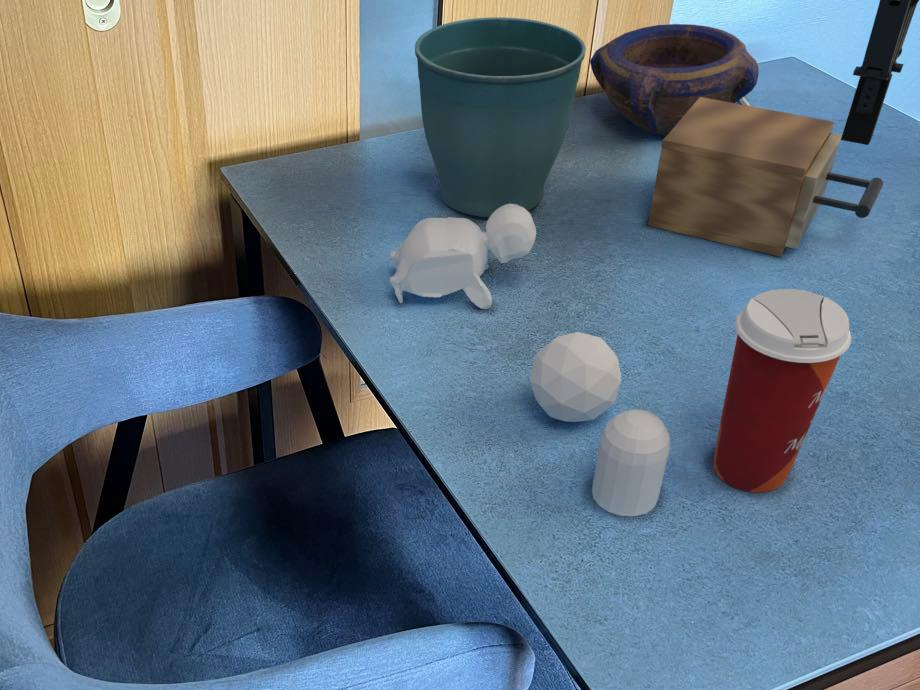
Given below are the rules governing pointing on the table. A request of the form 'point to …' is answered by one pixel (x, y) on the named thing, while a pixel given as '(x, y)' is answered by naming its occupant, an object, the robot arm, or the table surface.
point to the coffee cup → (776, 384)
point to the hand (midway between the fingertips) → (856, 139)
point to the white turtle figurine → (459, 253)
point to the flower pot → (496, 107)
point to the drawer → (816, 187)
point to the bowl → (672, 72)
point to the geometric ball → (576, 377)
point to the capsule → (631, 463)
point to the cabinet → (735, 173)
